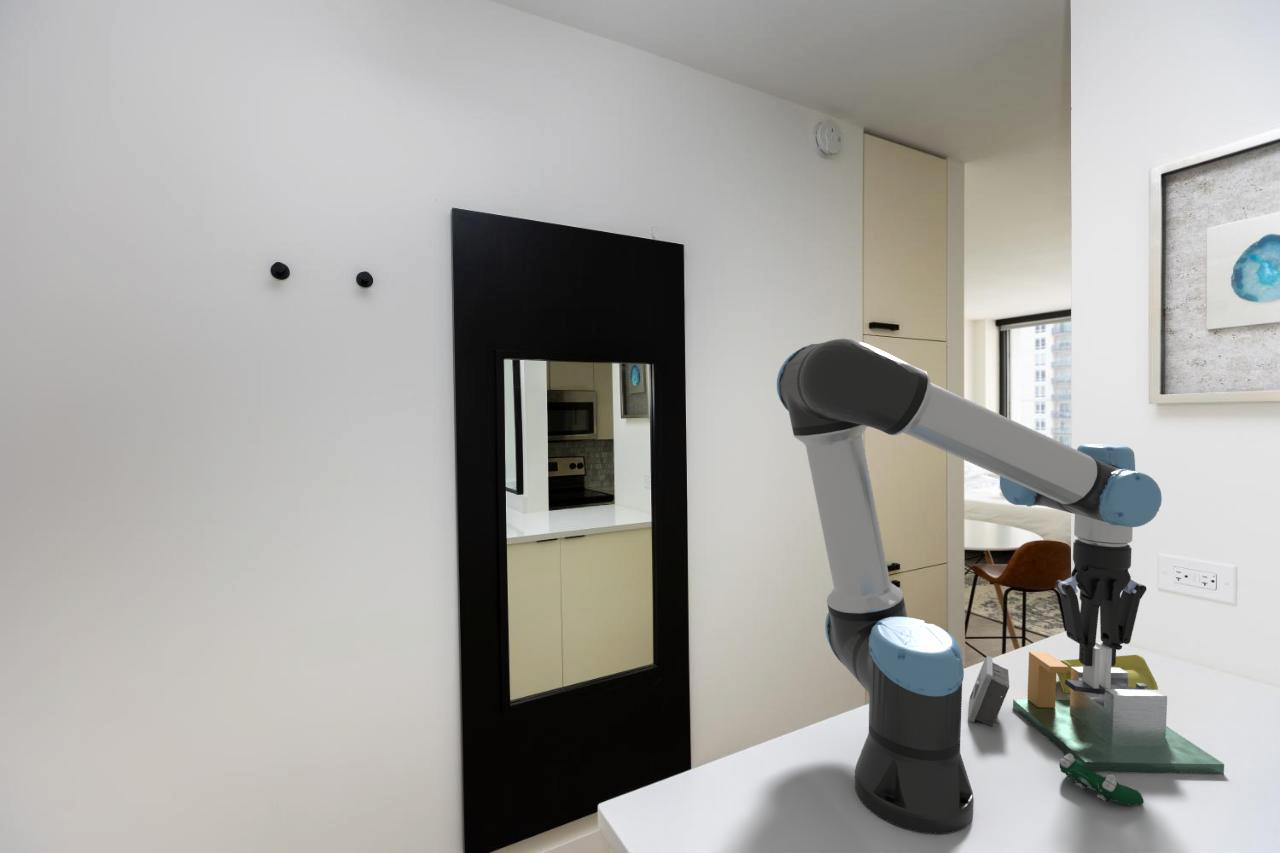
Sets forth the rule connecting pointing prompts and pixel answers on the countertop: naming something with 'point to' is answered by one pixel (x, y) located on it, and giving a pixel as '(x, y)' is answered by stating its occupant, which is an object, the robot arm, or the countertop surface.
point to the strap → (1084, 687)
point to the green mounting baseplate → (1118, 730)
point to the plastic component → (1129, 663)
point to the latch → (1043, 678)
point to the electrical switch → (988, 693)
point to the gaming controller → (1099, 782)
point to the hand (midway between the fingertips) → (1096, 684)
